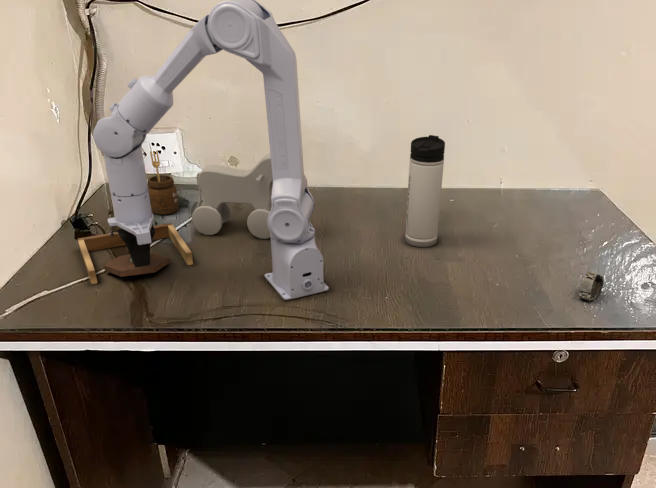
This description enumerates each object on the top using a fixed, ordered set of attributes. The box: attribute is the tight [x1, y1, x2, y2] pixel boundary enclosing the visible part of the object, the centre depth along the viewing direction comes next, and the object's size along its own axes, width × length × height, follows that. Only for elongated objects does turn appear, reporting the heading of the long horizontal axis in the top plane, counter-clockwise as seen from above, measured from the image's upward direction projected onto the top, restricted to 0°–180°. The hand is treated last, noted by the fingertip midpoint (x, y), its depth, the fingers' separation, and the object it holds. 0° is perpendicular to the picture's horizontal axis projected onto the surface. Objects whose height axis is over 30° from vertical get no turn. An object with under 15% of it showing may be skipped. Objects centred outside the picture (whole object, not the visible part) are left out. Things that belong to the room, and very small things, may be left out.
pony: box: [191, 152, 273, 240], centre depth 120 cm, size 20×10×17 cm, turn 84°
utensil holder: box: [147, 150, 180, 216], centre depth 129 cm, size 6×6×12 cm
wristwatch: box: [578, 270, 604, 302], centre depth 103 cm, size 3×5×5 cm
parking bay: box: [76, 222, 194, 285], centre depth 112 cm, size 14×17×2 cm
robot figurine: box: [103, 208, 171, 278], centre depth 106 cm, size 11×9×12 cm
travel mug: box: [404, 134, 446, 248], centre depth 117 cm, size 6×7×20 cm
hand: (142, 267), depth 106 cm, fingers closed
